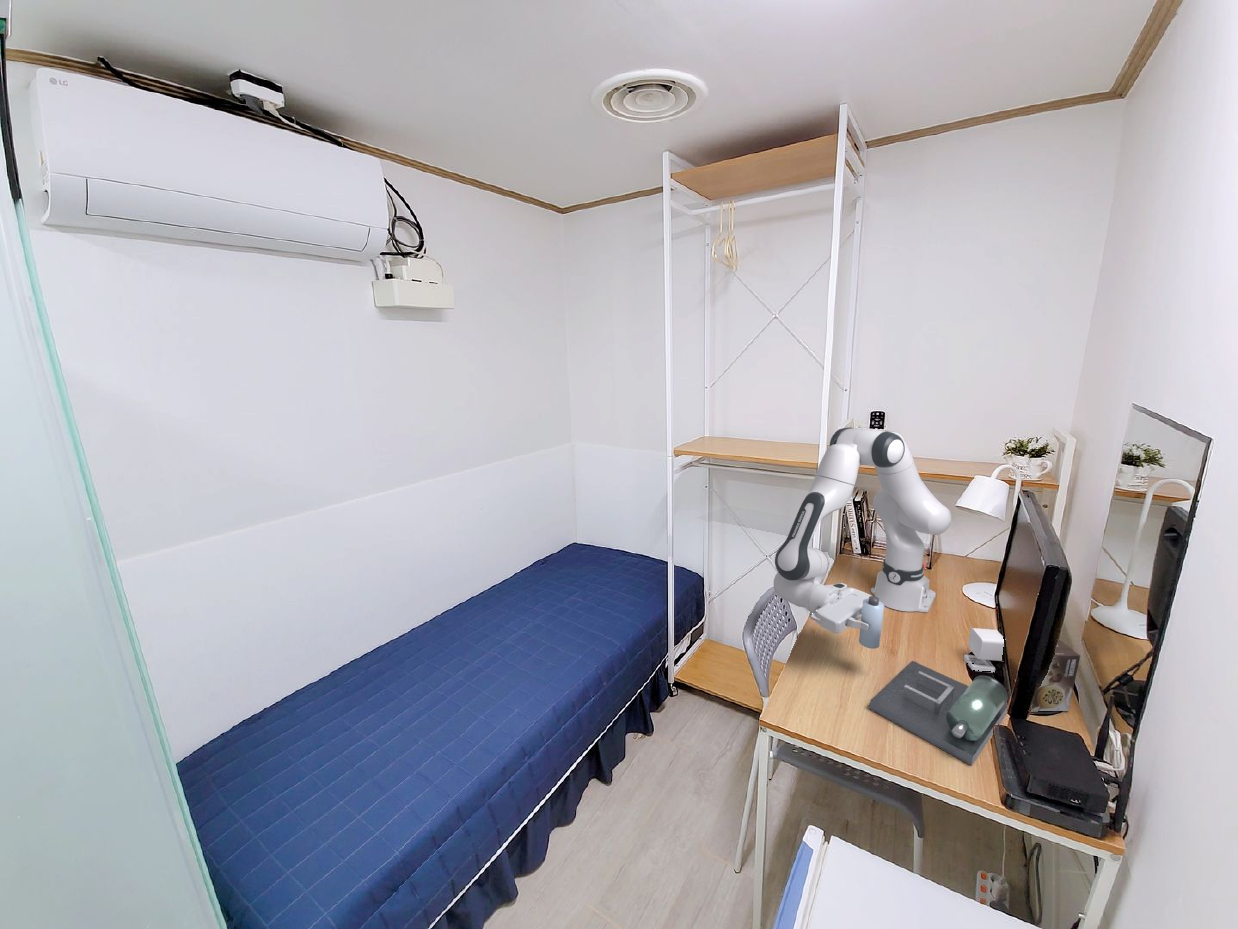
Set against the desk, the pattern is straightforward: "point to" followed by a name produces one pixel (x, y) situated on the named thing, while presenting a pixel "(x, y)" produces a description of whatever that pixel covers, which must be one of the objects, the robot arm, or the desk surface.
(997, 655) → the security camera
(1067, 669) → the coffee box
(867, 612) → the capped plastic bottle
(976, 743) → the motor mount
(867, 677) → the desk surface
